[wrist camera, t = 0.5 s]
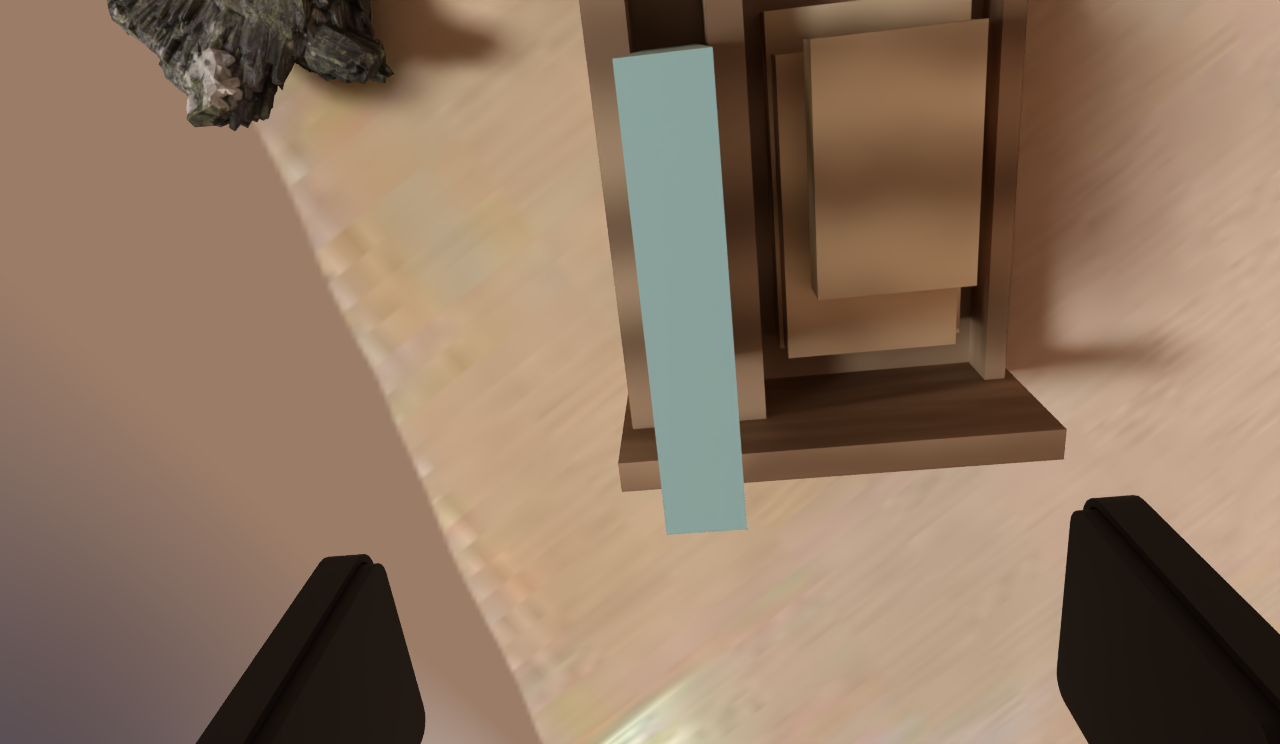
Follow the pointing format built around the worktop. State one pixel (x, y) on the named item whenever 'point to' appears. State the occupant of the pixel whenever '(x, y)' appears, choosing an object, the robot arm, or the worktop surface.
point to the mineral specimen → (251, 49)
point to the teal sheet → (683, 281)
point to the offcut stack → (873, 170)
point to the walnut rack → (766, 377)
